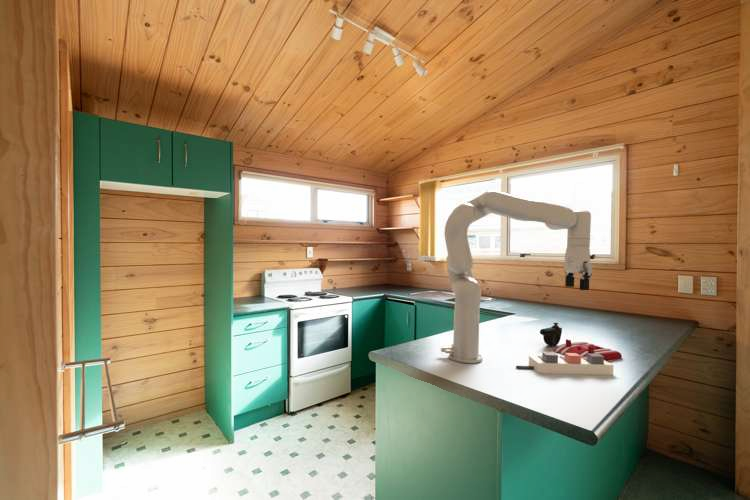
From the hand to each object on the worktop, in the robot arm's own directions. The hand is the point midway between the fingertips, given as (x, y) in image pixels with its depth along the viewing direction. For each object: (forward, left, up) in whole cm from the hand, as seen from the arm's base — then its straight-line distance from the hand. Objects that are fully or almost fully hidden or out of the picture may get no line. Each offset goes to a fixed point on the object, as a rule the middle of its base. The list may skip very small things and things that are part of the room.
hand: (576, 288), depth 136 cm
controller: (+2, +23, -29) cm, 37 cm away
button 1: (-14, -10, -26) cm, 31 cm away
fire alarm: (+11, +11, -30) cm, 33 cm away
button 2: (-6, -10, -26) cm, 28 cm away
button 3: (+2, -10, -26) cm, 28 cm away
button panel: (-9, -8, -29) cm, 31 cm away
